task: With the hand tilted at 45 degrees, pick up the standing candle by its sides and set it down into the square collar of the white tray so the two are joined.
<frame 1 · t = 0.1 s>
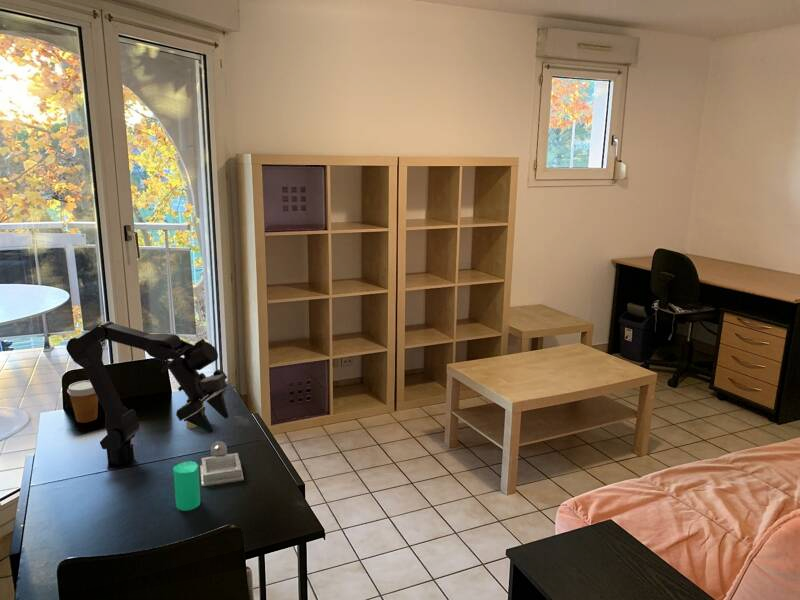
hand: (219, 424, 167), 15 cm above the table, tool tilted 35°, fingers open, 9 cm apart
lighter: (195, 424, 200), on the table
candle: (188, 504, 155), on the table
disposable coffee cup: (87, 419, 203), on the table
white tray: (221, 473, 170), on the table
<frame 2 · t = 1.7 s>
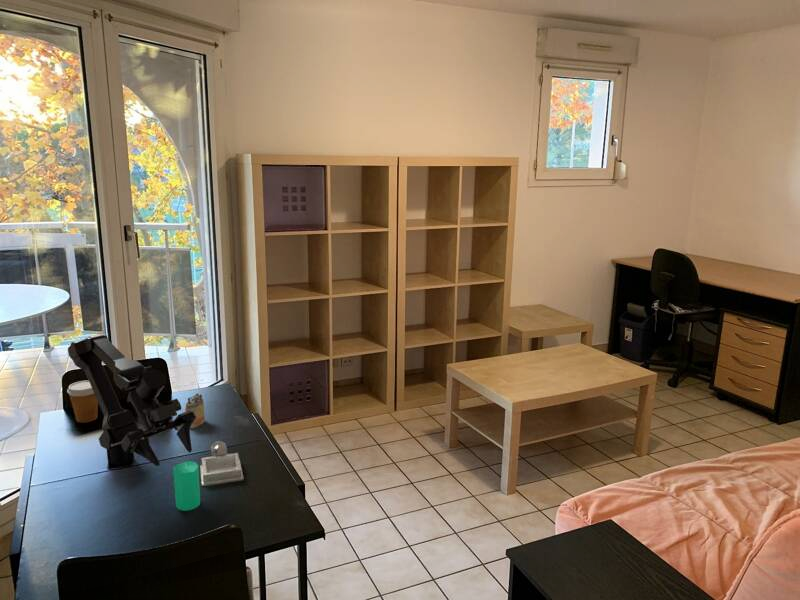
hand: (174, 458, 155), 11 cm above the table, tool tilted 45°, fingers open, 9 cm apart
nothing on the table moved.
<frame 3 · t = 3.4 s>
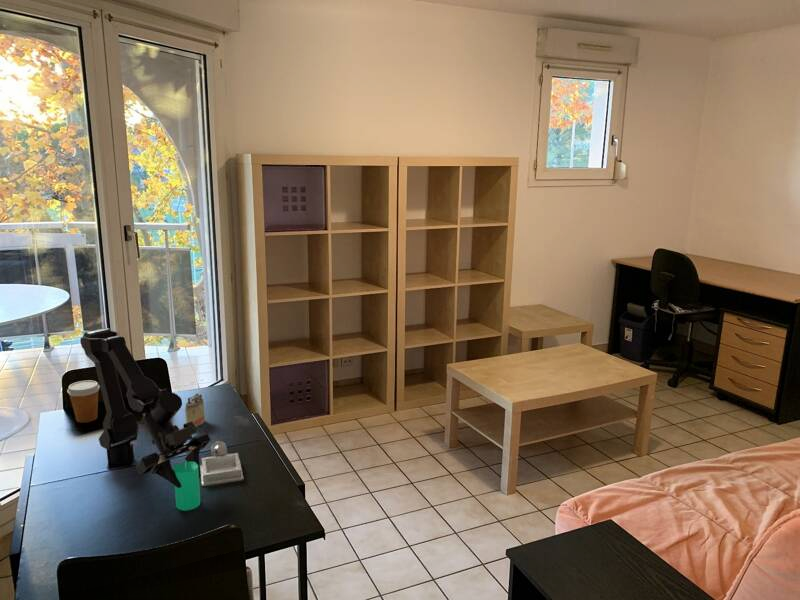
hand: (190, 482, 153), 7 cm above the table, tool tilted 45°, fingers closed on candle, 5 cm apart
candle: (188, 504, 155), on the table, touching gripper
everything else where it was.
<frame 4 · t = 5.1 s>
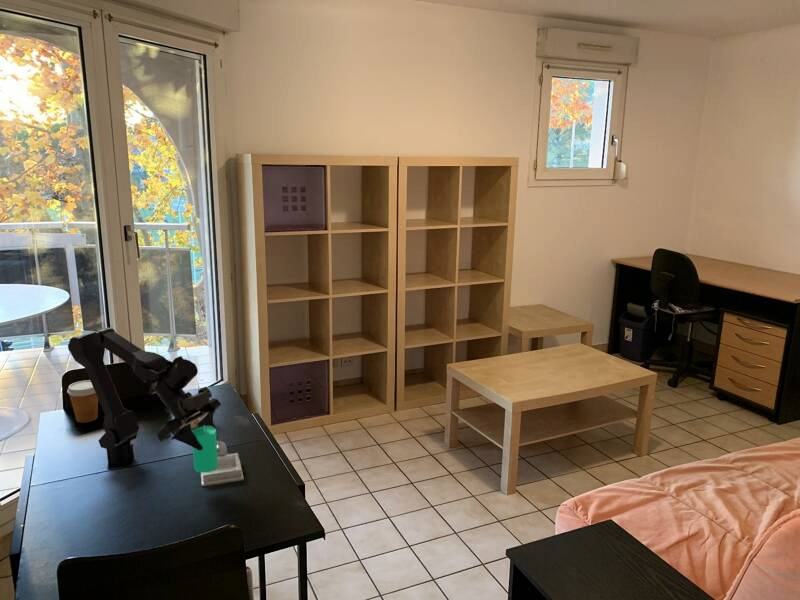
hand: (209, 444, 159), 13 cm above the table, tool tilted 45°, fingers closed on candle, 5 cm apart
candle: (205, 467, 161), point 6 cm above the table, touching gripper
everything else where it was.
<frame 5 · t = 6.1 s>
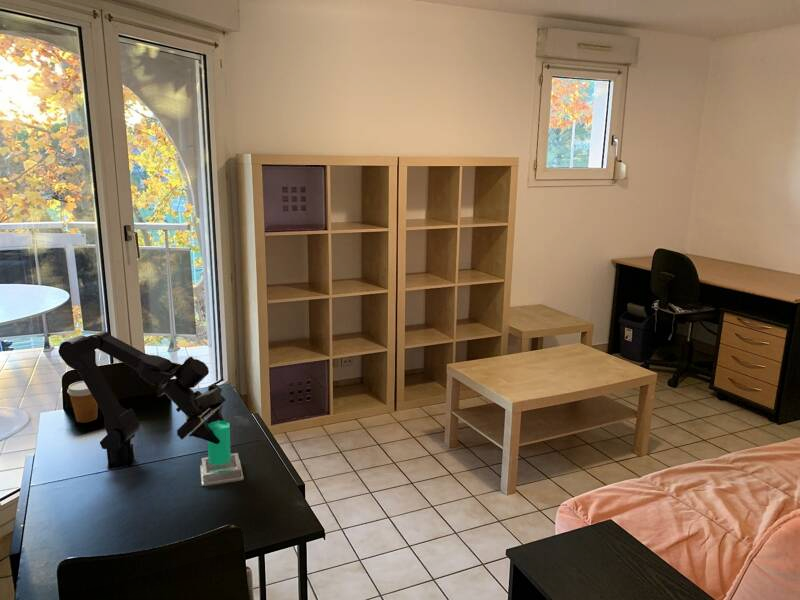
hand: (223, 438, 167), 11 cm above the table, tool tilted 45°, fingers closed on candle, 5 cm apart
candle: (219, 460, 169), point 4 cm above the table, touching gripper
everything else where it was.
when the fingers open (8 cm above the table, at t = 6.9 s): candle drops 1 cm, resting on white tray.
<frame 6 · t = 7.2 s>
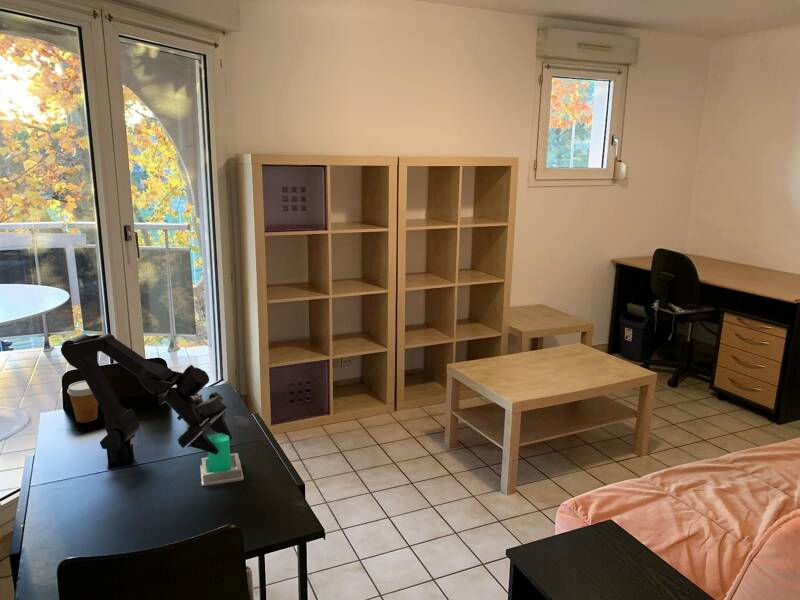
hand: (224, 446, 168), 9 cm above the table, tool tilted 45°, fingers open, 8 cm apart
candle: (220, 473, 170), resting on white tray
everything else where it was.
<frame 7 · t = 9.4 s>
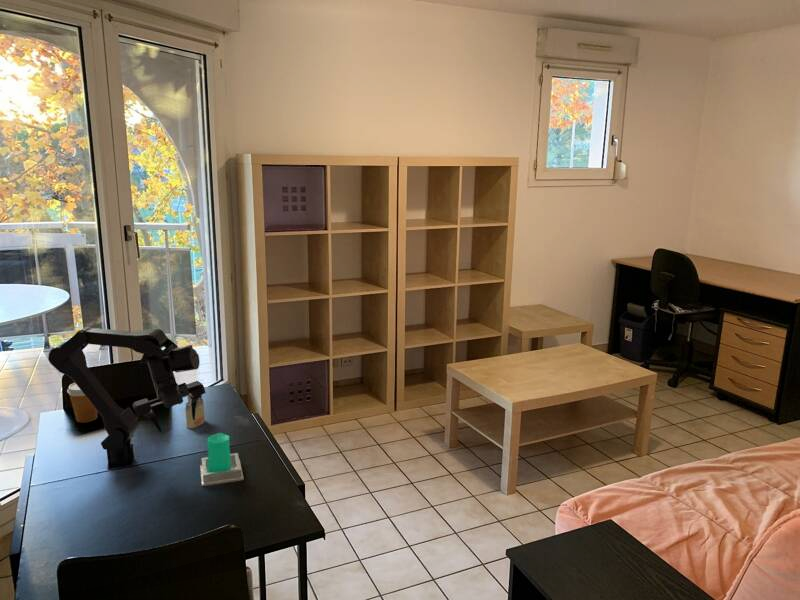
hand: (177, 425, 172), 12 cm above the table, tool pointing down, fingers open, 9 cm apart
nothing on the table moved.
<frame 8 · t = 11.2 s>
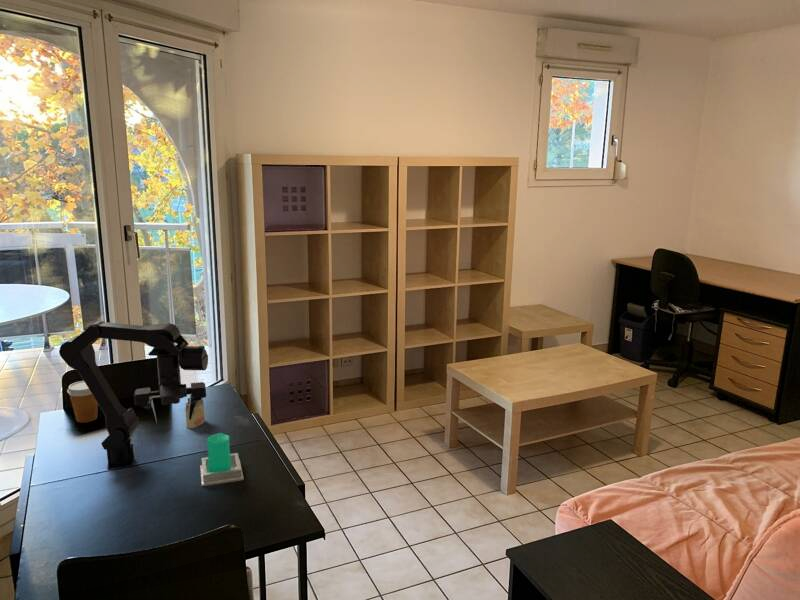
hand: (172, 421, 172), 13 cm above the table, tool pointing down, fingers open, 9 cm apart
nothing on the table moved.
at the end: candle 0.4 cm off-centre on the white tray, point 0.3 cm above the white tray's base; candle tilted 0°; the gripper is holding nothing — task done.
